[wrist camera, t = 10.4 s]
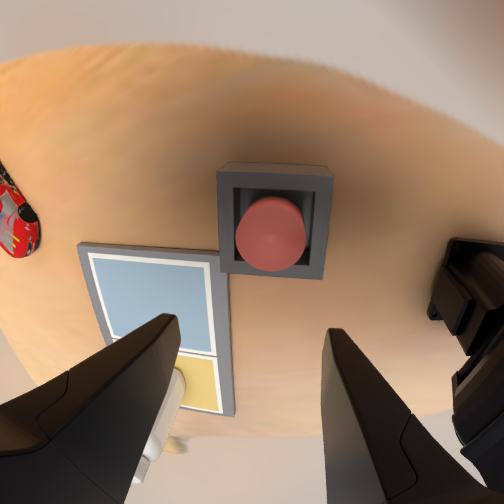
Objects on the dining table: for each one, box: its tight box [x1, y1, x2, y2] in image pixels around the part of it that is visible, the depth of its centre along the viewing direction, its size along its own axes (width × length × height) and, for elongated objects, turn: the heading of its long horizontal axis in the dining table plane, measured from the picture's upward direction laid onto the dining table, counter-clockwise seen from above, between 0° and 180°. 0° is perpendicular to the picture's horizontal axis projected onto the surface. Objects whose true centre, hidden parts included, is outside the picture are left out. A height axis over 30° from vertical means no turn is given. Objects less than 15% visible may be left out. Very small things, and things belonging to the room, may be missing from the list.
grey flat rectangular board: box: [77, 242, 235, 417], centre depth 24 cm, size 12×18×1 cm, turn 0°
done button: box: [236, 195, 306, 271], centre depth 15 cm, size 3×3×2 cm
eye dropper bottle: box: [130, 368, 185, 486], centre depth 20 cm, size 4×6×12 cm
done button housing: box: [217, 162, 333, 280], centre depth 16 cm, size 6×6×3 cm
